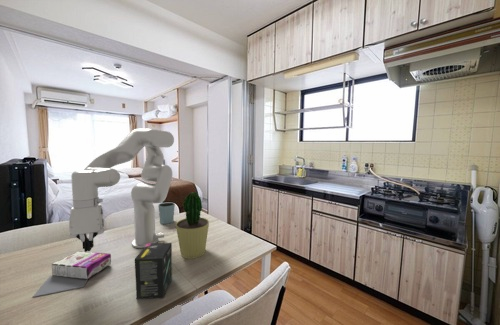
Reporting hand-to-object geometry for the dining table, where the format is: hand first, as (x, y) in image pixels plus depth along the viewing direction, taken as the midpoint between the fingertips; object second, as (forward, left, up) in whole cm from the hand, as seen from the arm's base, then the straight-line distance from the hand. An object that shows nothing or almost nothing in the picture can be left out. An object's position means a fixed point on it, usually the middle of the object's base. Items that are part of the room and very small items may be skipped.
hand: (88, 249), depth 80 cm
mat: (+7, 0, -11) cm, 13 cm away
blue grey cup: (-29, -52, -11) cm, 61 cm away
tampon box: (-24, +16, -11) cm, 31 cm away
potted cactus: (-40, -5, -11) cm, 42 cm away
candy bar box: (-3, -2, -8) cm, 9 cm away
